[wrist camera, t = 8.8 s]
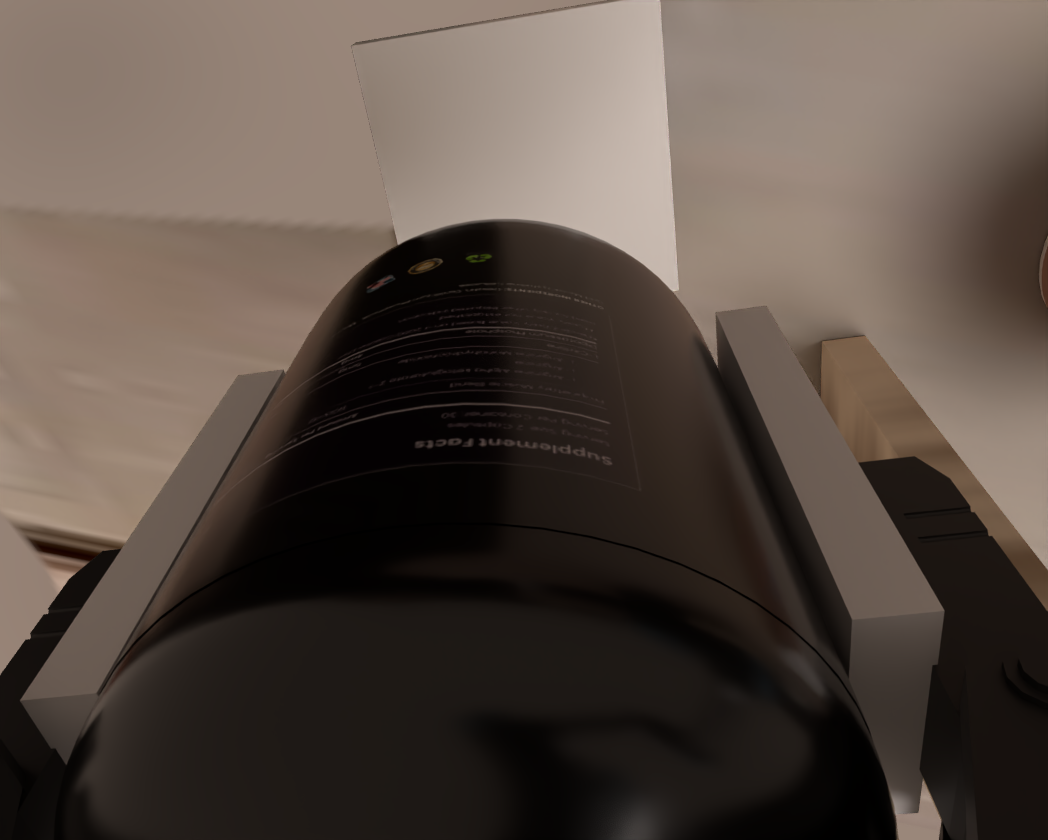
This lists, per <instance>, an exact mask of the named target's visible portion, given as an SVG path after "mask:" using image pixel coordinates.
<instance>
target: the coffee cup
mask: <svg viewBox="0 0 1048 840" xmlns="http://www.w3.org/2000/svg"><path fill="white" fill-rule="evenodd" d="M1039 283H1040V289H1041V295H1042V298H1043V300H1044V302H1045V304H1046V307H1047V309H1048V236H1047V238H1046V241H1045V244H1044V248H1043V251H1042V255H1041V258H1040V267H1039Z"/></svg>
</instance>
